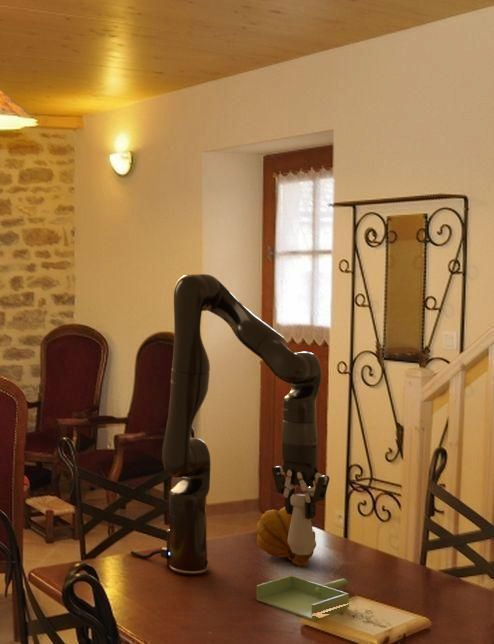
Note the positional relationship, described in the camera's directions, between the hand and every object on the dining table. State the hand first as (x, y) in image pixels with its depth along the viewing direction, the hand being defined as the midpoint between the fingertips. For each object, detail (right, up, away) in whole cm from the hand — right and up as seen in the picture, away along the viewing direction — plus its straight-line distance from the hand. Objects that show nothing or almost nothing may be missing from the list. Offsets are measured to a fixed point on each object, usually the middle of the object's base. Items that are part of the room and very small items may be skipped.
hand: (300, 515), depth 202 cm
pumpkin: (+10, -20, +33) cm, 40 cm away
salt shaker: (0, -8, 0) cm, 8 cm away
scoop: (+5, -20, +3) cm, 21 cm away
